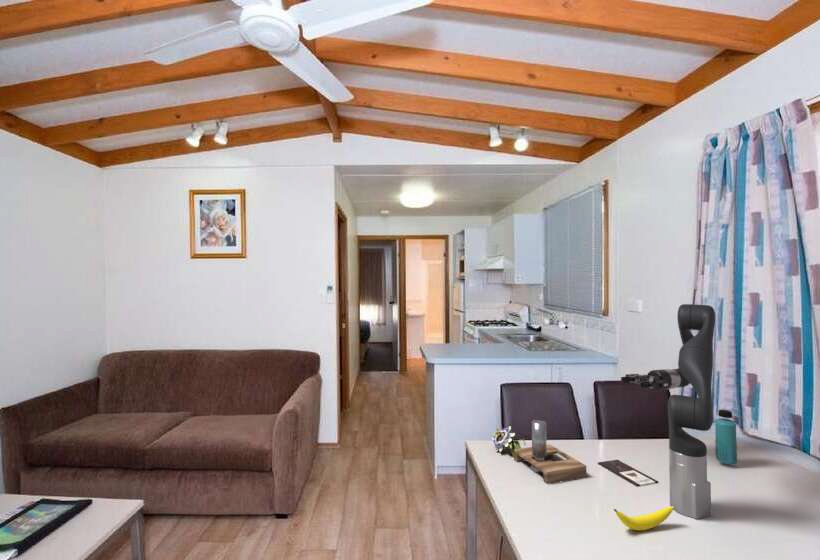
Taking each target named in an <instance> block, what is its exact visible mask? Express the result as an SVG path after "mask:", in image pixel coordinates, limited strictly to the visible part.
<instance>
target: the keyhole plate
mask: <svg viewBox="0 0 820 560" xmlns="http://www.w3.org/2000/svg"><path fill="white" fill-rule="evenodd" d="M557 454H558V455H559V456H561V457H563V458H564V459H561V460H555V461H553V460H551V459H547V458H553V457H554V455H557ZM513 459H514V460H513V461H515V462H516V463H521V462H527V463H529V464H530V465H531V464H532V465H533V466H535V467H536V468H538V469H539V470H540V471H542V472H543V478H542V479H543V480H542V481H544V482H543V483H545V484H546V483H547V485H549V484H548V483H551V484H555V483H554V482H557V483H561V482H560V481H563V482H567V481H566V480H568V481H572V480H571V479H574V480H578V479H577V478H580V479H584V478H583V477H585V478H587V465H586V464H585V463H583V462H581V461H579V460H577V459H576V458H574V457H573V456H571V455H569V454H567V453H566V452H564V451H563V450H560V449H558V448H556V447H555V446H553V445H551V444H547V456H546V457H544V459H547V460H544V461H540V462H537V461H536V460H534V455H532V446H529V447H521V449H517V448H516V449H514V456H513Z"/></svg>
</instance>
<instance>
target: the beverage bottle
mask: <svg viewBox="0 0 820 560" xmlns="http://www.w3.org/2000/svg"><path fill="white" fill-rule="evenodd" d="M717 414H718V415H717V416H719V417H720V418H717V419H715V421H714V422H715V424H714V425H715V427H714V428H715V431H714V434H715V441H714V443H715V459H716V460H717V461H718V462H720V463H723V464H726V465H733V466H734V465H737V463H738V460H739V459H738V443H737V442H738V441H737V423H736V422H735V421H733V420H732V418H733V412H732V410H727V409H719V410H718V413H717Z"/></svg>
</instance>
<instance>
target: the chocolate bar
mask: <svg viewBox="0 0 820 560" xmlns="http://www.w3.org/2000/svg"><path fill="white" fill-rule="evenodd" d="M597 465H599V466H600V465H601V467H602V468H604V469H606V470H607V469H608V471H609V472H611V473H613V474H614V475H615V476H617V477H619V478H621V479H623V480H625V481H627V482H628V483H629V484H631V485H633V486H635V487H636V488H637V487H643V486H644V487H645V486H649V484H650V485H656V484H659V480H657V479H654V478H653V477H651V476H649V475H647V474H646V473H644V472H642V471H640V470H639V469H636V468H634V467H632V466H630V465H628V464H626V463H624V462H623V461H621V460H619V459H612V460H606V461H605V460H604V461H598V462H597ZM655 483H656V484H655Z"/></svg>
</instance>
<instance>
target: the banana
mask: <svg viewBox="0 0 820 560" xmlns="http://www.w3.org/2000/svg"><path fill="white" fill-rule="evenodd" d="M613 511H614V512H615V513H616V516H617V517H618V519H619V520H620V521H621V523H622V524H624V525H625V527H627V528H628V529H631V530H636V531H646V530H650V529H652V528H655V527H656V526H659V525H661V524H663V522H665V521H666V520H667V519H668V518H669V516H670V515H671V513H672V512H673V511H674V506H673V507H671V506H668V507H664V508H661V509H659V510H657V511H654V512H651V513H648V514H644V515H641V516H627V515H626V514H625V513H623V512H621V511H619V510H617V509H616V508H613Z"/></svg>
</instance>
